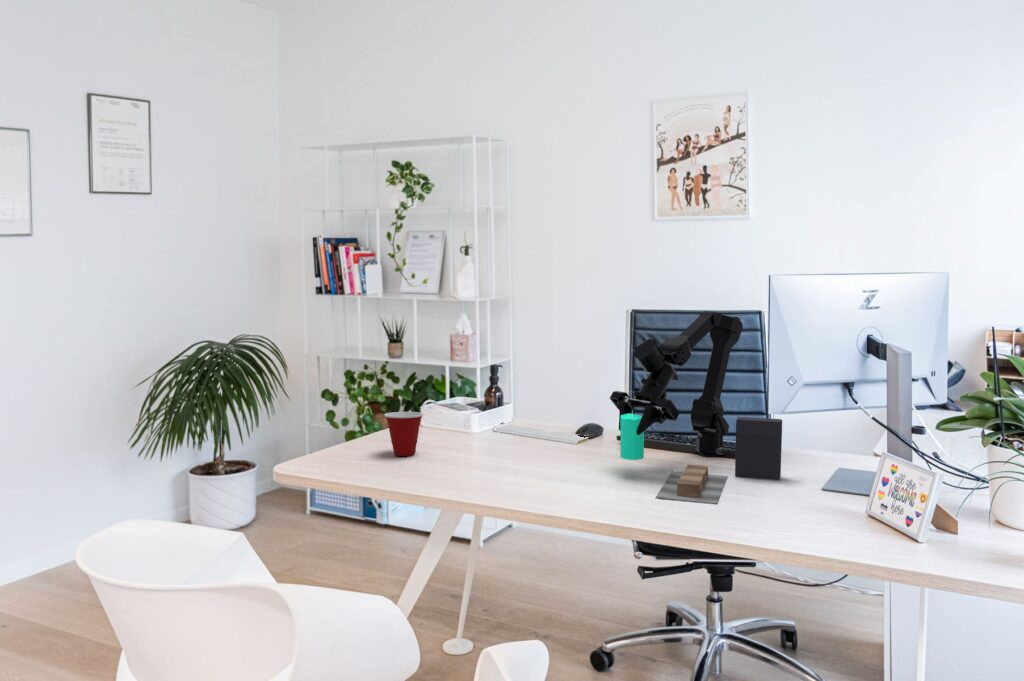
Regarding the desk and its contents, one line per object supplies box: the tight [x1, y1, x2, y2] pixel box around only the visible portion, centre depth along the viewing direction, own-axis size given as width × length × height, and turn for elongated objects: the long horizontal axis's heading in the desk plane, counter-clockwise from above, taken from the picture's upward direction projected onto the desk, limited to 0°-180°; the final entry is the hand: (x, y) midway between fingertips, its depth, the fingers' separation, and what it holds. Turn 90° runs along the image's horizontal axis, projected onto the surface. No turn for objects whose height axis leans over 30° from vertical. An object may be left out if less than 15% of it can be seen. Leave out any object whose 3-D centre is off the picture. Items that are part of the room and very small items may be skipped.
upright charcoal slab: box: [734, 416, 783, 481], centre depth 220 cm, size 11×4×15 cm, turn 71°
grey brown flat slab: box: [655, 463, 728, 505], centre depth 212 cm, size 24×14×3 cm, turn 161°
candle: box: [619, 409, 645, 461], centre depth 221 cm, size 6×6×12 cm
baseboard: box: [492, 421, 589, 446], centre depth 268 cm, size 30×3×10 cm
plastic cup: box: [384, 411, 424, 458], centre depth 245 cm, size 11×11×12 cm
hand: (628, 432), depth 220 cm, fingers closed on candle, 5 cm apart
